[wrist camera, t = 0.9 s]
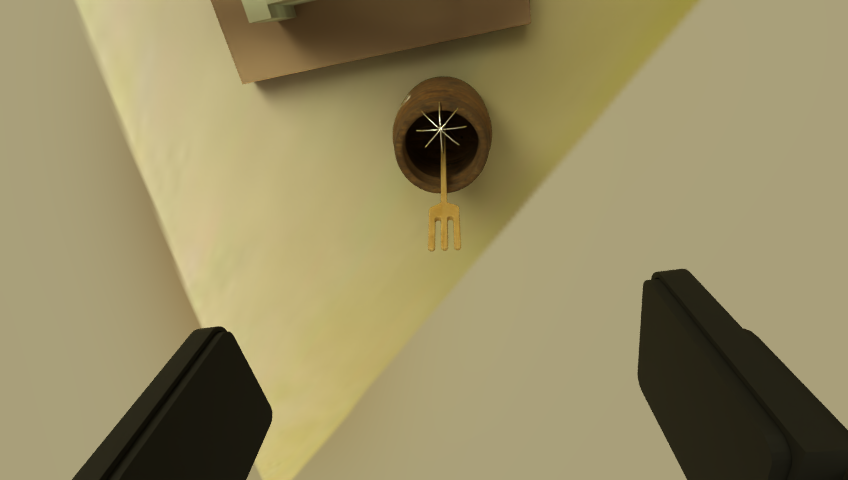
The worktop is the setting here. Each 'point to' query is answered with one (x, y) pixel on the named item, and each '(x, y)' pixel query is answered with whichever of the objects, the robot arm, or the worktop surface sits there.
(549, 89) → the worktop surface
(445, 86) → the utensil holder
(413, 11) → the collar stand
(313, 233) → the worktop surface
